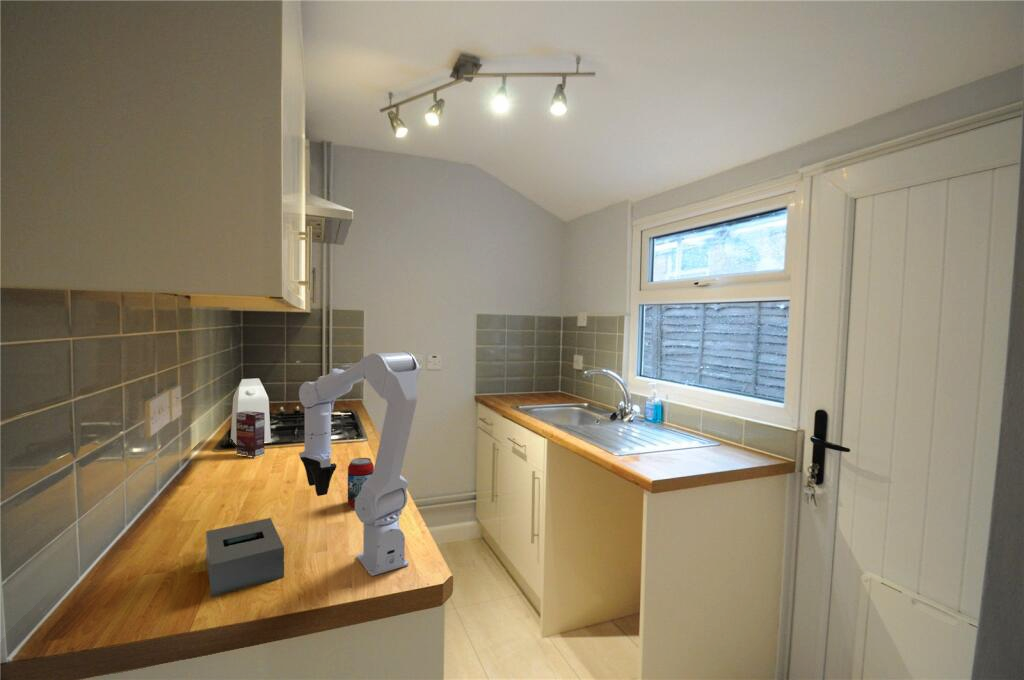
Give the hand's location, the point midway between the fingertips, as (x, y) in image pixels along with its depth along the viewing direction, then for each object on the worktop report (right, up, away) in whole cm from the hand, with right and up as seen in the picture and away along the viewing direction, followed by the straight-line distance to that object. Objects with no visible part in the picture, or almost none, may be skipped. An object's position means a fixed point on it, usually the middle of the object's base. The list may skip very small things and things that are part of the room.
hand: (317, 489), depth 110 cm
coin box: (-8, -11, -15) cm, 21 cm away
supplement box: (-49, -7, +60) cm, 78 cm away
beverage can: (+4, -10, +18) cm, 21 cm away
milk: (-58, -6, +75) cm, 95 cm away
